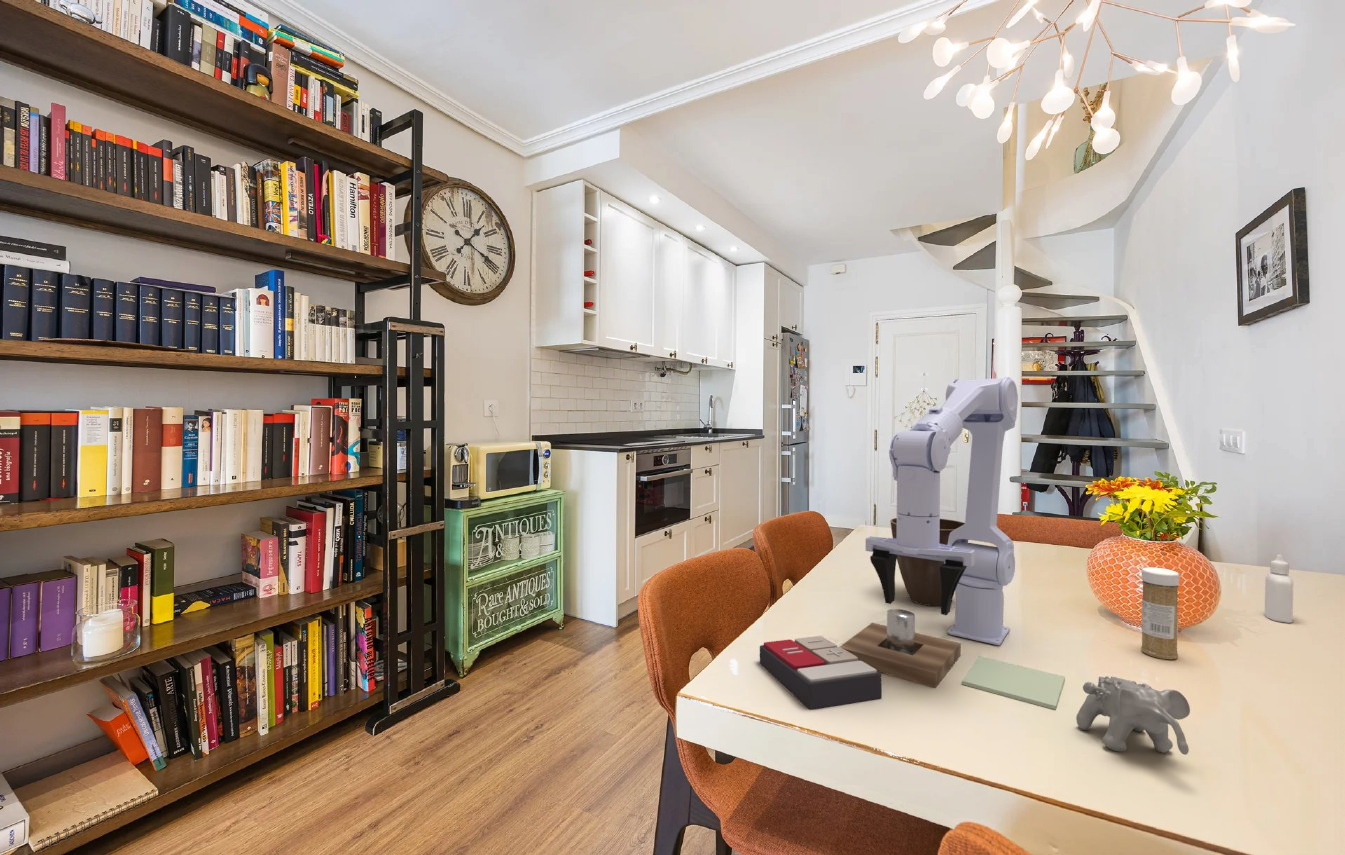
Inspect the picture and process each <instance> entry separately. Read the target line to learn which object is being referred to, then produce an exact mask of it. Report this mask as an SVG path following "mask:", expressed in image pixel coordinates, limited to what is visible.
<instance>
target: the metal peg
mask: <svg viewBox="0 0 1345 855" xmlns="http://www.w3.org/2000/svg"><path fill="white" fill-rule="evenodd" d="M915 620H916V615H915V613H914V612H912V611H910V610H907V609H906V610H905V609H899V608H892V609H888V610H887V611H886V626H887V649H890V650H894V651H898V652H902V653H906V654H910V655H914V648H915V633H916V631H915V630H916V627H915V626H916V621H915Z"/></svg>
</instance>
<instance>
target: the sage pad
mask: <svg viewBox="0 0 1345 855" xmlns="http://www.w3.org/2000/svg"><path fill="white" fill-rule="evenodd" d="M1065 682H1066V676H1064V675H1060V674H1056V673H1051V672H1048V671H1045V670H1044V671H1043V670H1040V669H1036V668H1035V669H1034V668H1031V667H1027V666H1023V665H1019V664H1015V663H1012V662H1011V663H1010V662H1005V661H1003V660H998V659H994V658H989V657H986V656H981V655H978V657H977V658H976V659H975V661H974V662H973V664H971V667H970V668H969V669H968V671H967V672H966V673H965V675H964V677H963V678H962V680H961V685H963V686H967V687H970V688H974V689H977V690H981V691H985V692H989V693H992V694H996V695H1000V696H1003V697H1006V698H1010V699H1014V700H1018V701H1021V702H1025V703H1029V704H1033V705H1036V706H1040V707H1042V708H1043V707H1044V708H1047V709H1050V710H1055V711H1056V710H1057V707H1058V703H1059V701H1060V700H1059V699H1060V697H1061V694H1062V690H1063V688H1064V686H1065V685H1064V684H1065Z"/></svg>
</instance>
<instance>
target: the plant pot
mask: <svg viewBox="0 0 1345 855" xmlns="http://www.w3.org/2000/svg"><path fill="white" fill-rule="evenodd" d="M889 522H890V528H891V536H892V537H891V538H896V539H897V517H894V518H891V519H890V521H889ZM964 524H965V522H962V521H959V520H953V519H945V518H940V537H939V544H944V545H947V544H948V539H949V535H950V533H951V532H952V531H954V530H955V529H957V528H959V527H961V526H962V525H964ZM965 542H968V543H969V540H967V541H965ZM896 563H897V566H898V570H899V572H900V576H901V579H902V582H903V584H904V587H905V590H906V593H907V596H908V598H909V599H910V601H911V602H914V603H916V604H920V605H924V606H932V607H939V606H940V607H941V596H942V587H941V575H940V566H941V565H942V564H944V561H937V560H931V559H924V558H917V557H910V556H904V555H897V560H896Z"/></svg>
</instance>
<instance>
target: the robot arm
mask: <svg viewBox="0 0 1345 855" xmlns="http://www.w3.org/2000/svg"><path fill="white" fill-rule="evenodd" d="M945 391H946V392H945V402H944V403H943V404H942V405H941V406H939V405H937V406H931V407H930V408H929V409H928V411H927V412H926V413H925V414H924V415H923V416H922V417H921V418H920V419H919V420H918V421H917V422H916V423H915V424H914V425H913V426H912V427H911V428H910V429H909V430H900V431H899V432H898V433H896V434H894V436H893V437H892V439H891V441H890V448H889V449H888V453H889V454H888V455H889V462H890V464H891V467H892V477H893V480H894V481H896V518H897V539H896V538H893V537H878V536H868V537H865V552H869V553H870V552H871V553H872V554H871V555H870V557H869V558H870V563H871V564H872V566H873V568H874V570H875V573H877V577H878V578H879V581H880V585H881V588H882V591H883V595H884V601H885V604H888V605H891V604H892V603H894V602H895V600H896V568H897V555H904V556H910V557H917V558H924V559H931V560H937V561H944V564H942V565H941V566H940V575H941V587H942V596H941V606H940V615H943V616H947V615H949V614H950V612H951V608H952V601H953V599H954V604H955V605H954V624H953V625H952V626H951V627H950V628H949V629H948V630H947V634H948V635H952V636H956V637H961V638H965V639H969V640H973V641H978V642H982V643H985V644H986V643H987V644H991V645H995V646H1000V645H1001V644H1002V642H1003V641H1004V639H1005V638H1006V637H1007V635H1008V633H1009V632H1010V630H1011V629H1010V627H1009V626H1006V625H1004V613H1005V612H1004V611H1005V610H1004V604H1005V603H1004V602H1005V600H1004V598H1005V597H1004V596H1005V594H1004V591H1003V589H1004V587H1005V586H1008V585H1009V584H1010V583H1011V582H1012V580H1013V579H1014V576H1015V572H1016V557H1015V545H1014V541H1013V540H1012V539H1011V538H1010V537H1009V536H1008V535H1007V533H1004V532H1003V530H1001V529H1000V528H999V527H998V526H997V525H998V512H999V500H1000V498H999V497H1000V484H1001V474H1002V473H1001V472H1002V460H1003V446H1004V440H1005V434H1006V432H1008V431H1009V430H1011V429H1014V428H1015V426H1016V421H1017V418H1018V416H1017V414H1018V405H1019V403H1018V401H1019V393H1018V389H1017V385H1016V382H1015V381H1014V380H1013V378H1012V377H1010V376H1006V377H1002V378H984V379H983V378H977V379H957V378H956V379H952V380H951V381H950V382H949V384H948V385H947V387H946V390H945ZM963 430H967V431H969V432H970V434H971V448H970V460H969V461H970V462H969V473H968V484H967V485H968V486H967V493H966V494H967V495H966V496H967V497H966V506H965V507H966V508H965V521H964V523H965V524H964V525H962V526H961V527H959V528H957V529H955V530H954V531H952V532H951V533H950V535H949V539H948V544H947V545H944V544H939V537H940V519H941V518H940V517H941V514H940V510H941V506H940V505H941V472H942V471H943V470H944V469H945V468H946V466H947V463H948V458H949V455H950V453H951V450H952V449H951V446H952V445H953V443H954V442H955V441H956V440H957V439H958V438H959V437H960V435H961V434H962V433H963ZM967 540H968V542H965V541H967ZM969 541H975V542H979V543H980V542H982V543H988V544H992V546H991V545H986V544H979V543H973V542H969ZM993 545H994V546H993Z"/></svg>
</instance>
